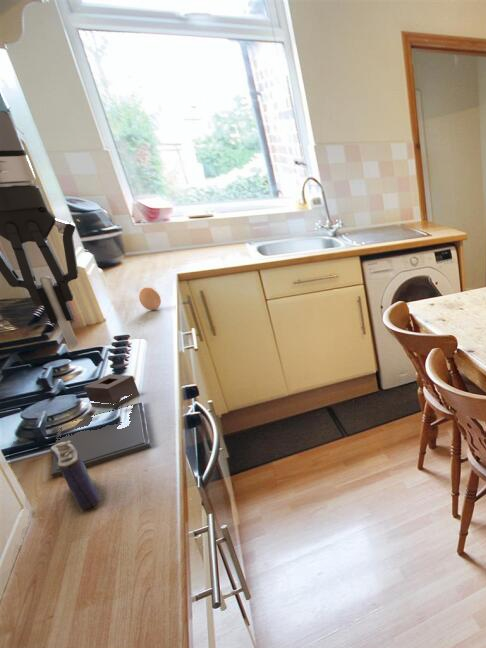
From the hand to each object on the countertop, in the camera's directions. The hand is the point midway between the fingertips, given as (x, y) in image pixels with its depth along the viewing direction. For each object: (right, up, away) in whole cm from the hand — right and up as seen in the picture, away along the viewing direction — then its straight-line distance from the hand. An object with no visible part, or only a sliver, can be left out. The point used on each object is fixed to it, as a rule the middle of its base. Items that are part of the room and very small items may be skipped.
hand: (62, 319), depth 85 cm
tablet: (+1, -23, +7) cm, 24 cm away
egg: (-43, +7, +78) cm, 89 cm away
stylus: (0, -5, +3) cm, 6 cm away
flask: (+12, -30, -8) cm, 33 cm away
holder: (-8, -18, +21) cm, 28 cm away
